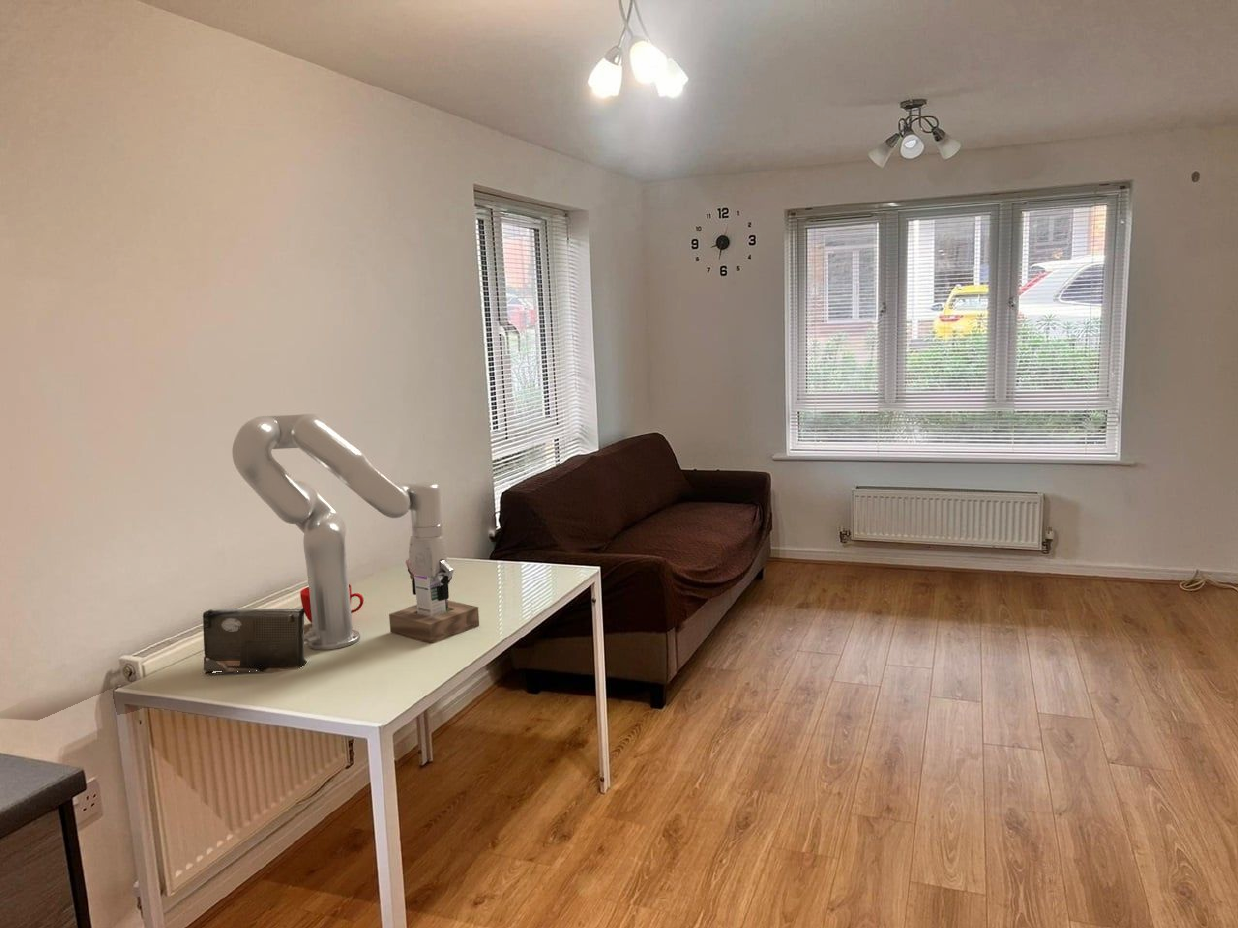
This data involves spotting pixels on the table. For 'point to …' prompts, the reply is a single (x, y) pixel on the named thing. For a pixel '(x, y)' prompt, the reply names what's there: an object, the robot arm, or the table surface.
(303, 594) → the ceramic cup
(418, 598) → the syrup box
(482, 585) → the table surface
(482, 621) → the table surface
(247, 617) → the radio
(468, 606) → the socket block
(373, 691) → the table surface
